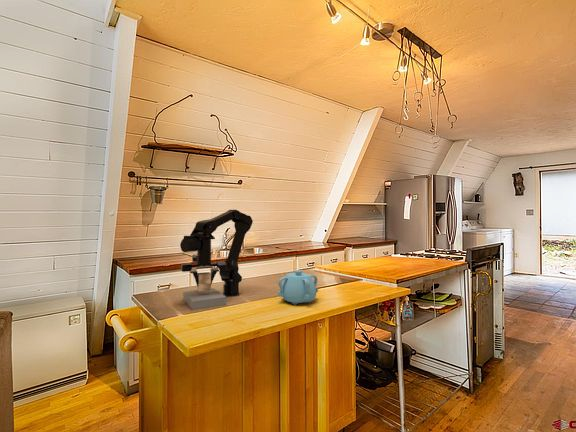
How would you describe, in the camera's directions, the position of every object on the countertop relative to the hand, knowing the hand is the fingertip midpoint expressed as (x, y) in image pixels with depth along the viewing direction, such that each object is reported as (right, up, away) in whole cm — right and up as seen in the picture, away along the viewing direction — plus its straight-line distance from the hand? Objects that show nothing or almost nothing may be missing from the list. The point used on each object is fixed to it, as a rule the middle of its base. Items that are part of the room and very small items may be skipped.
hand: (204, 286), depth 137 cm
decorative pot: (+41, -8, +3) cm, 42 cm away
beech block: (0, -2, 0) cm, 2 cm away
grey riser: (0, -8, 0) cm, 8 cm away
